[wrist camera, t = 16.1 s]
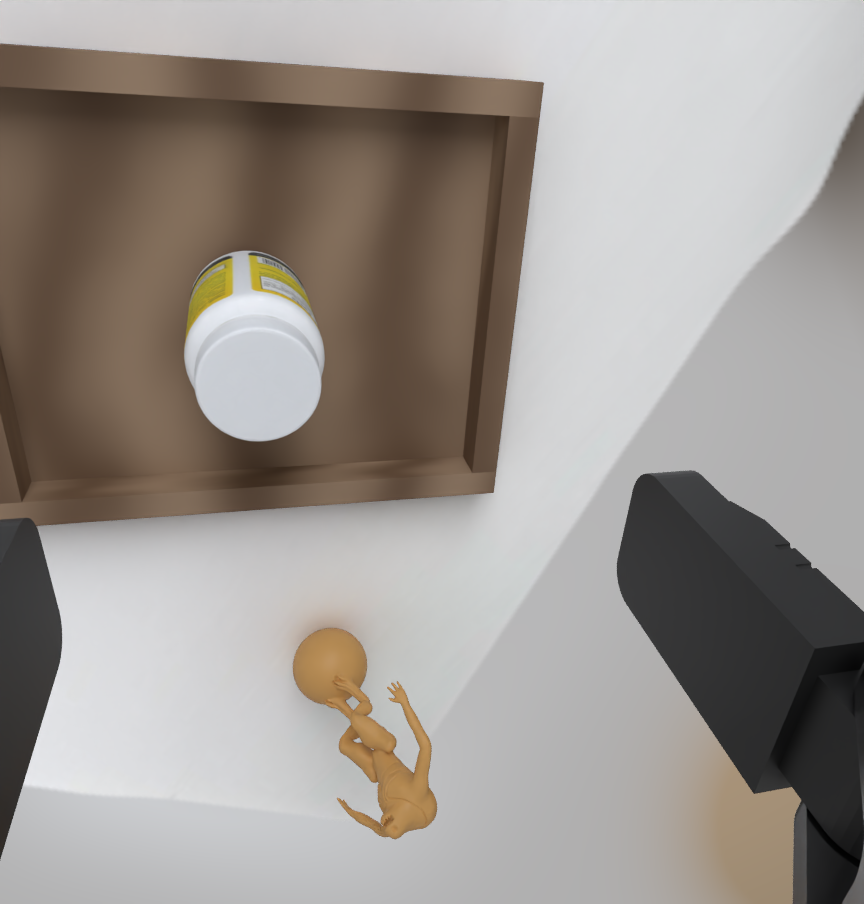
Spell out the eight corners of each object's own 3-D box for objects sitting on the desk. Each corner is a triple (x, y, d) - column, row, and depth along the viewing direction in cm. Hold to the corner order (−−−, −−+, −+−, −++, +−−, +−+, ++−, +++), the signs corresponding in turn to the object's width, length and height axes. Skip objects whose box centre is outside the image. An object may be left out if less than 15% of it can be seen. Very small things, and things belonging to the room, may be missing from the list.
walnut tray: (521, 80, 29) (543, 82, 27) (478, 467, 38) (493, 492, 35) (-103, 36, 24) (-137, 34, 22) (11, 497, 32) (-4, 528, 30)
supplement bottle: (201, 365, 31) (194, 462, 24) (179, 253, 28) (163, 324, 21) (314, 352, 32) (339, 442, 25) (302, 243, 29) (326, 308, 22)
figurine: (313, 577, 38) (343, 766, 28) (416, 592, 41) (478, 773, 30) (271, 690, 42) (284, 898, 31) (369, 699, 44) (410, 896, 34)
